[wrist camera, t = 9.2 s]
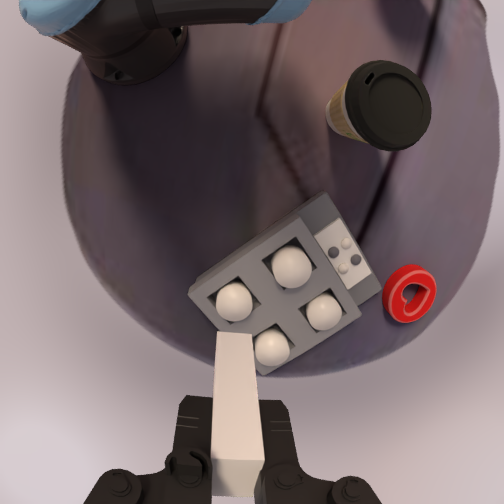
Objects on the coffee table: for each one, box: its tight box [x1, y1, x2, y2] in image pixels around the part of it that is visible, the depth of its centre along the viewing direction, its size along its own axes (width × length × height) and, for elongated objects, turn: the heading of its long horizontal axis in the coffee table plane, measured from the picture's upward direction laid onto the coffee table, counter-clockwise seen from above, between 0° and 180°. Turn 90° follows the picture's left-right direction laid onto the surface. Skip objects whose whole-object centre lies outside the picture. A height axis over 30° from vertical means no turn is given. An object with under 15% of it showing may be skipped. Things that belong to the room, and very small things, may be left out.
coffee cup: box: [325, 60, 431, 151], centre depth 32 cm, size 10×10×15 cm
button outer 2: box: [305, 291, 342, 330], centre depth 44 cm, size 5×5×3 cm
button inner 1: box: [216, 280, 253, 321], centre depth 43 cm, size 5×5×3 cm
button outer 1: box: [254, 328, 290, 366], centre depth 44 cm, size 5×5×3 cm
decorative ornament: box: [382, 265, 437, 323], centre depth 48 cm, size 10×10×3 cm
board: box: [188, 190, 382, 376], centre depth 45 cm, size 18×23×4 cm
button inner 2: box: [271, 245, 312, 288], centre depth 40 cm, size 5×5×3 cm
